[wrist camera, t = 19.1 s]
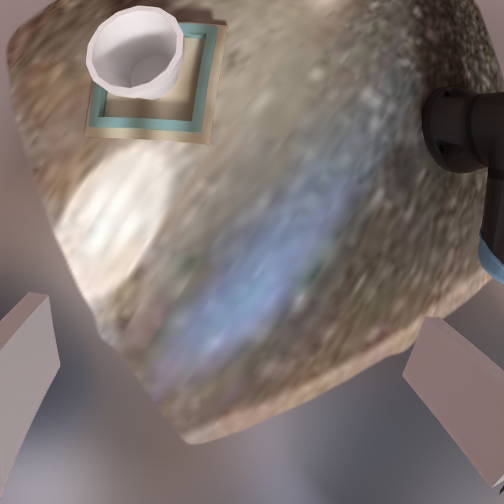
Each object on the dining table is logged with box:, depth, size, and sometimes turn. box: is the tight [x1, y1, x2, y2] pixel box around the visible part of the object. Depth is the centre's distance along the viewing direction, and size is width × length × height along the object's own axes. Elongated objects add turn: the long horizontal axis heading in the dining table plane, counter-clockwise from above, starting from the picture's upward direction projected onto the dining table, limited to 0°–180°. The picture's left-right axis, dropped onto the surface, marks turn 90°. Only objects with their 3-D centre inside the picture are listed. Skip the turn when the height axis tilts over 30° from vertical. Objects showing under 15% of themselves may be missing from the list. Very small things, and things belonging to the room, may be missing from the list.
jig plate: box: [85, 21, 228, 144], centre depth 35 cm, size 17×17×4 cm
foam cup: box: [86, 6, 185, 100], centre depth 29 cm, size 10×9×13 cm
